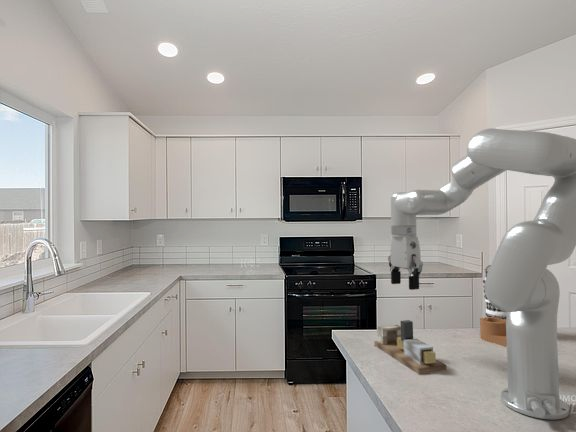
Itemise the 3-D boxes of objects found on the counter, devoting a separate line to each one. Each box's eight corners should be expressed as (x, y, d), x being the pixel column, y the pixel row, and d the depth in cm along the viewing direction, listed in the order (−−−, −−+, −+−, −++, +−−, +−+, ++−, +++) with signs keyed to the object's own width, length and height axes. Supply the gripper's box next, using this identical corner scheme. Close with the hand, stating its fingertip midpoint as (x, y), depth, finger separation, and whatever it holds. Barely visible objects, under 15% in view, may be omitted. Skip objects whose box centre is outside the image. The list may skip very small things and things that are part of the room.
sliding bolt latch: (446, 370, 99) (445, 346, 100) (418, 374, 97) (418, 349, 97) (397, 342, 123) (397, 323, 123) (374, 345, 121) (374, 325, 121)
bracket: (475, 338, 126) (474, 319, 126) (489, 334, 130) (488, 316, 130) (530, 354, 111) (529, 332, 111) (544, 349, 115) (543, 327, 115)
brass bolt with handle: (436, 362, 99) (435, 331, 99) (426, 363, 98) (425, 332, 99) (405, 345, 114) (404, 318, 114) (396, 346, 113) (396, 318, 113)
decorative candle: (507, 339, 124) (504, 268, 125) (480, 333, 132) (477, 265, 133) (518, 334, 130) (515, 265, 130) (491, 328, 137) (489, 263, 138)
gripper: (432, 232, 104) (433, 290, 103) (398, 230, 120) (399, 281, 120) (409, 232, 102) (410, 292, 101) (378, 231, 118) (379, 282, 118)
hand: (404, 286), depth 111 cm, fingers open, 9 cm apart
